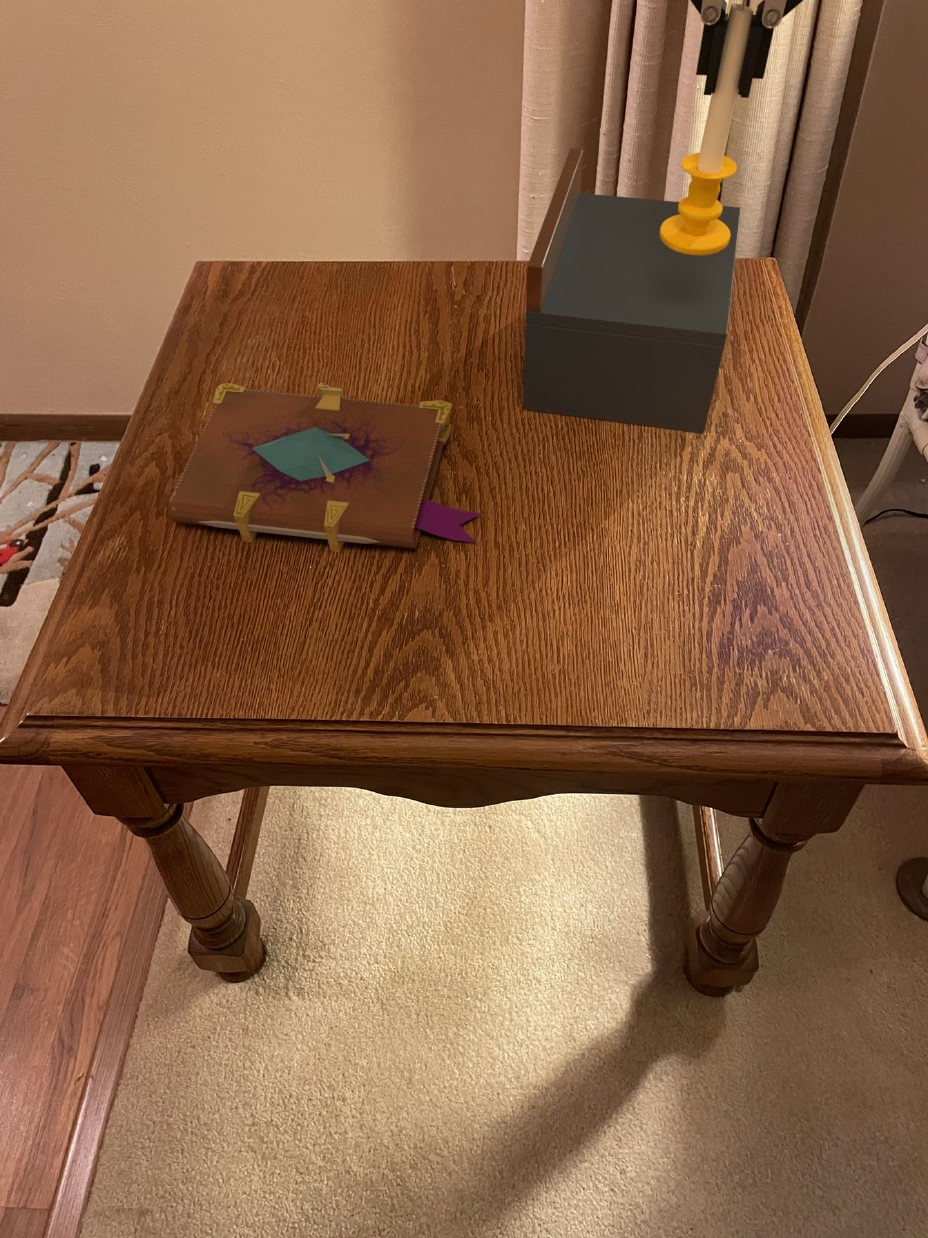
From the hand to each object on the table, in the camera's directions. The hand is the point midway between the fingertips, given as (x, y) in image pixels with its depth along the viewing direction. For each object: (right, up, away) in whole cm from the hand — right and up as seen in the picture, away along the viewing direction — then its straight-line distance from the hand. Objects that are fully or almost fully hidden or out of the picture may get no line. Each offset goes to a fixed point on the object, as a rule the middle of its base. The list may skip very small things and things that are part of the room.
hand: (727, 85), depth 59 cm
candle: (0, -7, +8) cm, 11 cm away
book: (-28, -24, +16) cm, 40 cm away
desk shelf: (-2, -10, +26) cm, 28 cm away
